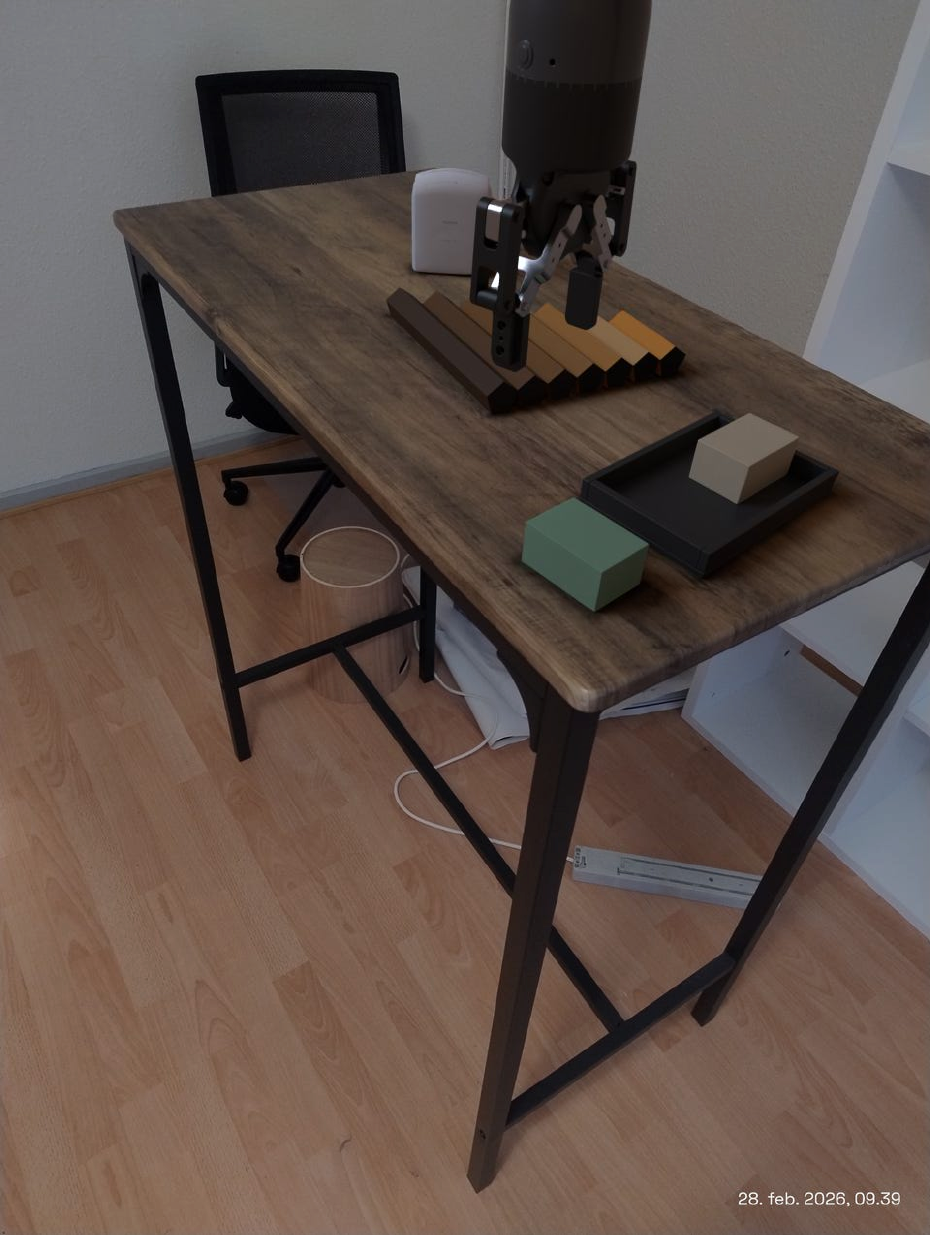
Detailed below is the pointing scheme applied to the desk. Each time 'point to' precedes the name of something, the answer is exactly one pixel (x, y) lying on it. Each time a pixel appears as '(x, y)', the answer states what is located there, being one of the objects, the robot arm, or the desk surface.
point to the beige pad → (743, 457)
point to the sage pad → (584, 553)
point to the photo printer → (445, 219)
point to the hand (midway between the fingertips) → (545, 345)
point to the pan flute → (533, 351)
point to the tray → (698, 500)
